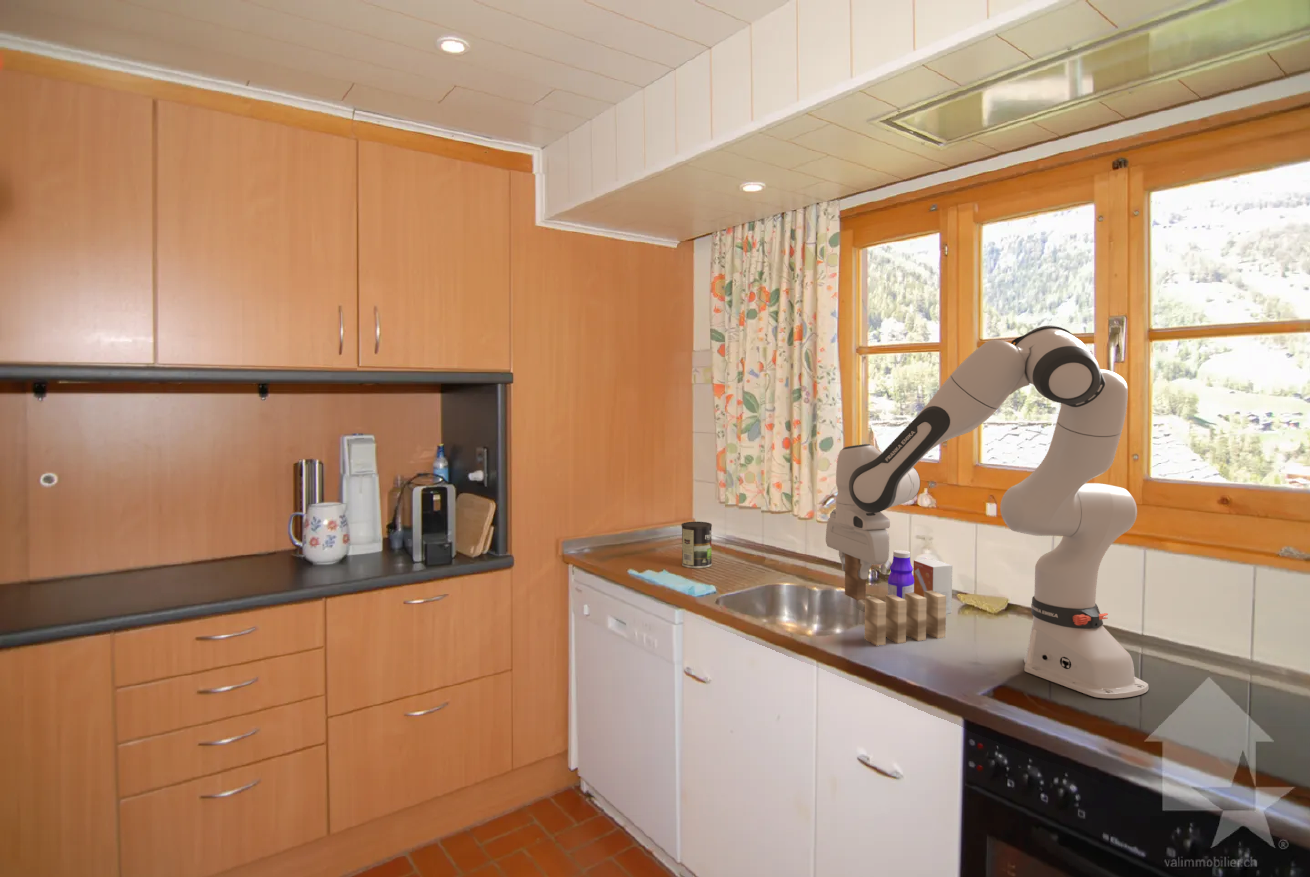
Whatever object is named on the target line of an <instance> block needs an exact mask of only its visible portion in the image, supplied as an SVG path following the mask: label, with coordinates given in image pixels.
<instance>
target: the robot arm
mask: <svg viewBox="0 0 1310 877" xmlns="http://www.w3.org/2000/svg"><path fill="white" fill-rule="evenodd" d="M1030 384H1031V385H1032V386H1033V387H1034V389H1036V391H1037V392H1038V393H1039V394H1040V395H1042V397H1044V398H1046V399H1047V400H1049V401H1051V402H1055V403H1059V404H1060V408H1059V411H1058V415H1057V419H1056V424H1055V427H1054V430H1053V435H1052V438H1051V441H1050V445H1049V448H1048V450H1047V452H1046V455H1045V456H1044V458H1043V460H1042V461H1041V463H1040V464H1039V465H1038V466H1037V468H1035V470H1033V471H1032V472H1031V473H1030V475H1028V476H1027V477H1026V478H1024V479H1023V480H1022V481H1020V482H1019V483H1016V484H1014V485H1012V486H1010V487H1009V488H1008V489H1007V490H1006V491H1005V492H1004V494H1003V496H1002V497H1001V500H1000V508H999V510H1000V514H1001V518H1002V520H1003V522H1004V523H1005V525H1006V527H1008V528H1009V529H1010V530H1011V531H1012V532H1016V533H1019V534H1025V535H1031V536H1037V537H1040V536H1041V537H1042V536H1043V537H1047V536H1048V537H1050V536H1051V537H1062V538H1061V540H1060V542H1059V543H1058V544H1057V546H1056V547H1055V548H1053V549H1051V551H1049V552H1046V553H1044V554H1042V555H1041V556H1040V557H1039V558H1038V559H1037V561H1036V563H1035V566H1034V595H1033V596H1032V597H1031V606H1030V607H1031V611H1030V612H1031V615H1032V626H1031V630H1030V635H1029V636H1030V637H1029V641H1028V647H1027V650H1026V653H1025V655H1024V658H1023V663H1024V667H1023V668H1024V669H1023V670H1024V672H1026V673H1028V674H1031V675H1033V676H1036V677H1039V678H1042V679H1044V680H1047V681H1050V682H1052V683H1055V684H1057V685H1061V686H1064V687H1066V688H1069V689H1071V690H1074V691H1077V692H1080V693H1083V694H1084V695H1088V696H1091V697H1094V698H1099V699H1123V698H1124V699H1126V698H1131V697H1136V696H1140V695H1144V694H1145V693H1147V692H1148V691H1149V689H1150V688H1149V683H1147V682H1145V681H1144V680H1142V679H1140V678H1138V677H1136V676H1135V668H1134V667H1135V666H1134V661H1133V657H1132V656H1131V654H1130V652H1128V651H1127V650H1126V648H1124V647H1123V646H1122V645H1121V644H1120V642H1119V641H1118V640H1117V639H1116V638H1115V637H1114V636H1113V635H1112V634H1111V633H1110V632H1109V631H1108V630H1107V629H1106V628H1105V627H1104V621H1103V620H1107V619H1108V617H1106V616H1108V615H1109V613H1107V612H1105V613H1101V611H1100V608H1099V606H1098V605H1097V603H1096V599H1097V597H1096V595H1097V583H1098V574H1099V569H1100V565H1101V563H1102V560H1103V558H1104V556H1105V554H1106V552H1107V551H1108V550H1109V547H1111V545H1112V544H1113V543H1115V541H1116V540H1117V539H1118V538H1119V537H1120V536H1122V535H1124V534H1125V533H1126V532H1128V531H1130V529H1131V528H1133V526H1134V524H1135V522H1136V520H1137V516H1138V507H1137V503H1136V500H1135V499H1134V497H1133V495H1132V494H1131V493H1130V492H1129V491H1128V490H1127V489H1126V488H1124V487H1120V486H1117V485H1112V484H1108V483H1107V484H1106V483H1098V482H1089V481H1091V480H1093V479H1094V478H1096V477H1099V476H1101V475H1104V473H1106V472H1107V471H1108V470H1109V469H1110V468H1111V467H1112V465H1113V464H1114V460H1115V458H1116V454H1117V450H1118V447H1119V443H1120V440H1121V437H1122V433H1123V432H1122V431H1123V429H1124V425H1125V420H1126V415H1127V408H1128V400H1129V399H1128V398H1129V396H1128V395H1129V393H1128V392H1129V387H1128V383H1127V382H1126V380H1125V379H1124V378H1123V376H1121V375H1119V374H1118V373H1116V372H1114V371H1111V370H1109V369H1102V368H1100V365H1099V362H1098V361H1097V359H1096V357H1095V356H1094V355H1093V354H1092V353H1091V351H1090V350H1089V348H1088V347H1087V345H1085V343H1084V342H1083V341H1082V340H1080V339H1079V338H1077V337H1075V336H1074V335H1073V333H1072V332H1070V331H1069V330H1067V329H1065V328H1063V327H1061V326H1056V325H1043V326H1039V327H1035V328H1034V329H1032V330H1030V331H1028V332H1027V333H1025V334H1023V335H1021V336H1019V337H1016V338H1014V339H1013V340H1012V341H1011V342H1009V341H1005V340H1002V339H990V340H988V341H985V342H984V343H983V344H981V345H980V346H979V347H977V348H976V349H975V350H974V351H973V352H972V353H971V354H970V355H968V357H966V358H965V360H963V361H962V362H961V363H960V364H959V365H958V366H957V368H955V370H954V371H953V372H952V373H951V374H950V375H949V376H948V378H946V380H945V381H944V382H943V384H942V385H941V386H940V387H939V388H938V389H937V391H936V393H934V395H933V396H932V398H931V399H930V400H929V401H928V403H926V405H925V406H924V407H923V408H922V410H920V412H919V413H918V415H916V417H915V418H914V419H912V421H911V422H910V423H909V424H908V425H906V427H905V428H904V429H903V430H902V431H901V432H900V433H899V434H898V436H897V437H896V438H894V440H892V441H891V443H890V444H889V445H888V446H887V447H886V448H885V449H884V450H883V451H880V450H878V449H877V448H876V446H874V445H873V444H870V443H863V444H855V445H849V446H845V447H843V448H842V449H841V450H839V453H838V456H837V460H836V461H837V462H836V472H835V484H836V488H837V494H836V497H835V508H834V509H832V511H831V512H830V514H829V518H828V520H827V522H826V530H825V543H826V546H827V547H828V548H831V549H833V550H835V551H838V557H839V559H840V563H841V570H842V571H843V572H845V554H848V555H850V556H853V557H855V558H858V559H860V564H862V566H861V569H860V570H858V577H859V578H861V579H866V580H867V579H868V578H869V571H870V569H871V567H872V565H873V566H874V565H875V566H876V565H885V564H887V562H888V560H889V559H890V558H889V557H890V535H889V532H888V530H887V529H889V528H890V526H891V521H890V519H889V518H888V517H887V516H886V515H885V514H883V513H882V512H883V511H885V510H887V509H889V508H892V507H897V506H899V505H902V504H905V503H908V502H910V501H911V500H913V499H914V498H915V497H917V495H918V493H919V492H920V488H921V478H920V474H919V472H918V471H917V469H916V468H915V466H916V465H917V464H918V463H919V462H920V461H921V460H922V459H923V458H924V456H926V455H927V454H928V453H929V452H930V451H932V450H933V449H935V447H937V446H939V445H940V444H942V443H944V442H946V441H948V440H952V439H955V438H957V437H960V436H962V435H965V434H968V433H971V432H972V431H974V430H976V429H977V428H978V427H980V425H982V424H983V423H984V422H985V421H987V420H988V419H989V418H990V417H991V416H993V414H995V412H996V411H997V410H998V409H999V408H1000V407H1001V406H1002V404H1003V403H1004V402H1005V401H1006V400H1007V399H1008V397H1009V396H1011V395H1013V393H1015V392H1017V391H1018V390H1020V389H1021V388H1024V387H1027V386H1030Z"/></svg>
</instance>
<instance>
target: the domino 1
mask: <svg viewBox="0 0 1310 877" xmlns="http://www.w3.org/2000/svg"><path fill="white" fill-rule="evenodd" d="M861 566H862V564H860V559H858V558H855V557H853V556H850V555H848V554H845V571H844V595H846V596H848V597H850V598H852V599H854V600H856V601H863V600H864V601H865V599H866V597H867V596H866V593H867V592H866V590H867V587H866V586H867V583H866V582H867V579H861V578H859V577H858V570H860V569H861Z"/></svg>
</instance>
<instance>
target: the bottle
mask: <svg viewBox="0 0 1310 877" xmlns="http://www.w3.org/2000/svg"><path fill="white" fill-rule="evenodd" d="M892 555H893V556H892V557H893V558H892V562H891V564H890V565H889V570H890V572H889V576H888V578H887V595H895V596H898V597H900V598H902V599H905V593H914V577H913V566H912V563H911V552H910V551H909V550H904V549H903V550H901V549H895V550H893V553H892Z"/></svg>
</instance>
